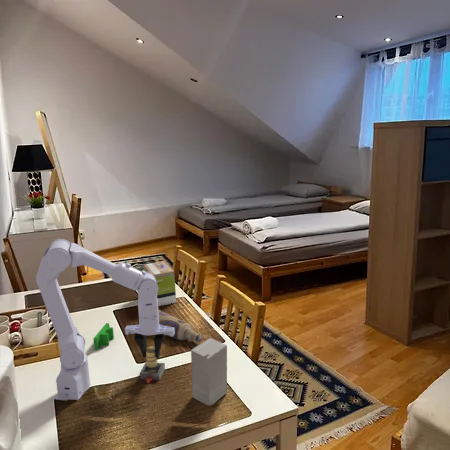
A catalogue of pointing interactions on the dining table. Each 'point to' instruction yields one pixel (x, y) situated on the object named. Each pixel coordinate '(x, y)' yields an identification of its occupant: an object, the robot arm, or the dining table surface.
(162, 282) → the tea box
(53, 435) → the dining table surface
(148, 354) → the small wooden barrel
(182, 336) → the decorative bottle
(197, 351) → the skincare box
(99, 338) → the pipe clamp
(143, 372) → the stand base
